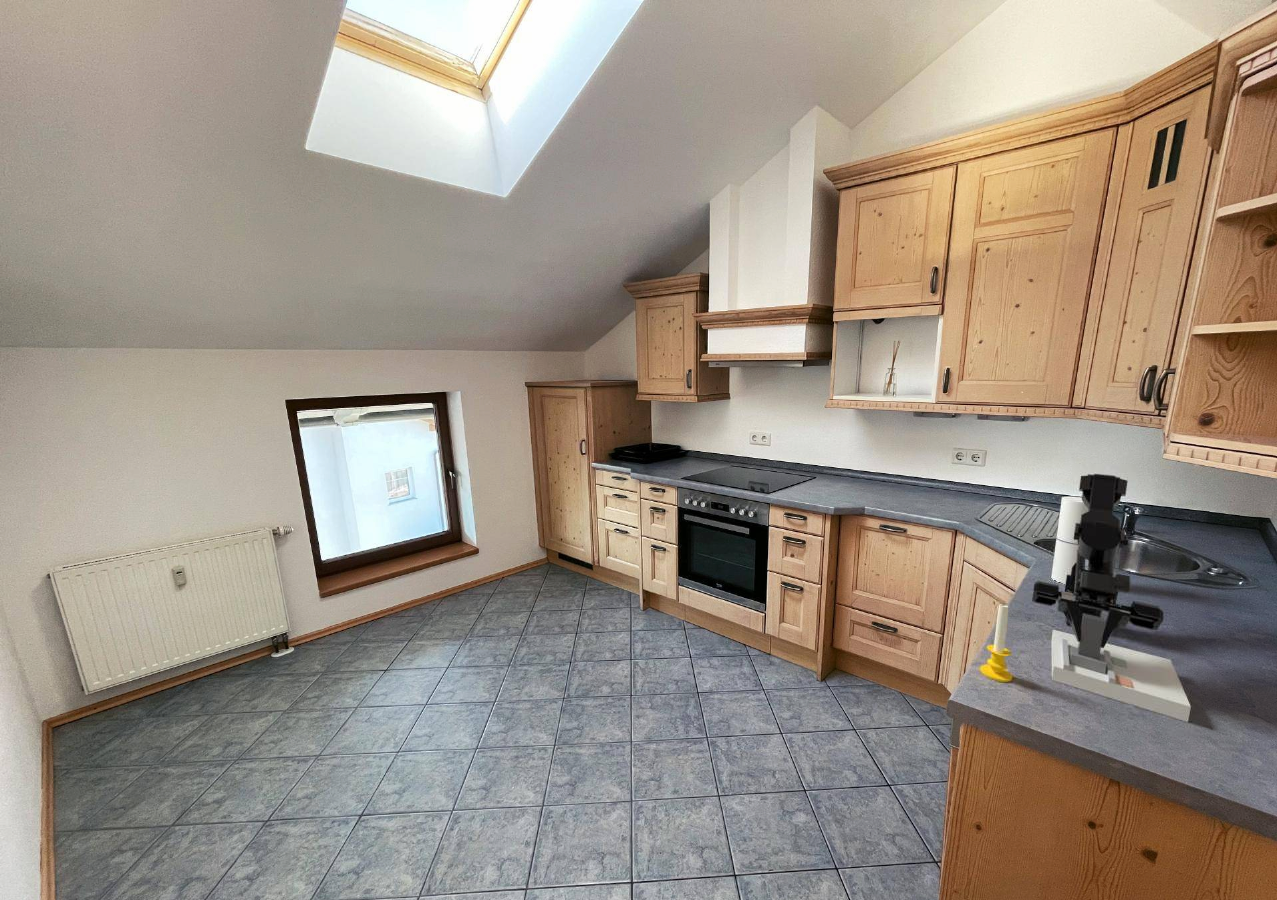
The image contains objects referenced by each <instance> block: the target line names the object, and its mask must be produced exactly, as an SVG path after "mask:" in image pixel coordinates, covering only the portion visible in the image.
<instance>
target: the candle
mask: <svg viewBox="0 0 1277 900" xmlns="http://www.w3.org/2000/svg"><path fill="white" fill-rule="evenodd" d="M1008 619H1009V606H1008V605H1005V604H999V605H998V611H997V617H996V626H995V635H994V641H993V644H989V645H988V644H987V646H986V648H987V650H988V651H989V652H991V654H990V658H988V659H987V662H986V663H985V664H982V665H981V666H980V669H979V670H980V672H981V673H982V675H984V676H985V677H987V678H989V679H991V680H992V681H997V682H1002V683H1010V682H1011V681H1012V680H1013V675H1012V673H1010V672H1009V671H1008V670H1007V669H1008V665H1007V663H1006V662H1005V661H1006V658H1005V657H1008V656H1011V655H1012V652H1011V651H1010V650H1009V649H1008V648H1006V647H1005V645H1006V637H1007V628H1008Z"/></svg>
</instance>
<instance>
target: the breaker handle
mask: <svg viewBox="0 0 1277 900" xmlns="http://www.w3.org/2000/svg"><path fill="white" fill-rule="evenodd" d="M1104 624H1105V618H1104V617H1097V616H1093V615H1088V614H1084V613H1083V617H1082V624H1081V641H1080V642H1079V644H1078V648H1076V647H1073V646H1071V648H1070V664H1073V665H1076V666H1080V667H1083V668H1087V669H1090V670H1094V671H1097V672H1101V673H1104V674H1105V671H1106V665H1107V664H1106V659H1105V655H1102V654H1100V650H1101V643H1102V637H1103V631H1104Z"/></svg>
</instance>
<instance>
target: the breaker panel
mask: <svg viewBox="0 0 1277 900" xmlns="http://www.w3.org/2000/svg"><path fill="white" fill-rule="evenodd" d="M1050 643H1051V644H1050V645H1051V680H1052V681H1055V682H1057V683H1061V684H1064V685H1066V686H1070V687H1072V688H1073V687H1074V688H1076V689H1079V690H1083V691H1086V692H1090V693H1093V694H1096V695H1099V696H1102V697H1105V698H1109V699H1112V700H1115V701H1118V702H1121V703H1125V704H1128V705H1131V706H1134V707H1138V708H1141V709H1145V710H1148V711H1151V712H1153V713H1157V714H1161V715H1164V716H1167V717H1170V718H1174V719H1175V720H1180V721H1183V722H1187V723H1188V722H1189V717H1190V712H1191V704H1190V702H1189V699H1188V697H1187V694H1186V693H1185V690H1184V688H1183V685H1182V683H1181V681H1180V679H1179V676H1178V674H1177V672H1176V669H1175V667H1174V665H1173V662H1172V661H1171V659H1168V658H1165V657H1160V656H1158V655H1153V654H1149V653H1147V652H1146V653H1145V652H1142V651H1137V650H1133V649H1130V648H1125V647H1122V646H1118V645H1113V644H1111V643H1106V645H1105V647H1104V648H1101V650H1100V654H1102V655H1105V659H1106V664H1107V665H1106V671H1105V674H1104V673H1101V672H1097V671H1094V670H1090V669H1087V668H1083V667H1080V666H1076V665H1073V664H1070V648H1071V646H1073V647H1076V648H1078V644H1079V642H1078V641H1077V639H1076V637H1075V634H1072V633H1067V632H1064V631H1061V630H1060V631H1059V630H1056V629H1052V635H1051V641H1050Z"/></svg>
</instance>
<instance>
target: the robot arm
mask: <svg viewBox="0 0 1277 900" xmlns="http://www.w3.org/2000/svg"><path fill="white" fill-rule="evenodd" d="M1128 481H1129V480H1128V479H1127V480H1126V479H1122V478H1121V477H1120V476H1116V475H1110V474H1104V473H1103V474H1100V473H1094V474H1087V475H1081V476H1080V481H1079V489H1078V492H1081V498H1082V501H1083V502H1084V504H1085V505H1086V507H1087V508H1088V512H1086V513H1084V514H1082V515H1081V521H1080V524H1079V523H1076V526H1075V532H1074V540H1078V544H1079V546H1078V551H1077V562H1076V563H1075V564H1074V566H1073V567H1072V570H1071V575H1068V574H1067V577H1066V584H1065V585H1064V591H1063V590H1062V591H1059V590H1060V586H1059V584H1053V583H1048V582H1044V581H1036V582H1034V584H1033V590H1032V599H1031V601H1032V602H1033V603H1036V604H1040V605H1044V606H1048V607H1052V606H1053V605H1056V603H1057V604H1058V605H1057V609H1056V611H1058V612H1060V613H1062V614H1063V615H1064V617H1065V624H1066V625H1067V626H1070V627H1071V630H1072V632H1073V635H1075V637H1076V639H1077V641H1078V642H1080V641H1081V624H1082V617H1083V613H1084V614H1088V615H1093V616H1097V617H1101V618H1103V617H1102V616H1103V612H1106V613H1107V616H1106V618H1105V619H1104V621H1105V624H1104V631H1103V637H1102V643H1101V648H1104V647H1105V645H1106V643H1107V642H1108V641H1109V639H1110V637H1111V635H1112V634H1113V633H1114V632H1115V631H1116V629H1118V628H1119V627H1122V628H1125V627H1127V625H1128V623H1130V624H1131V625H1132V626H1134V627H1138V628H1142V629H1147V630H1151V631H1158V629H1159V628H1160V626H1161V624H1162V623H1163V621H1164V610H1163V609H1162V608H1161V607H1160V606H1159V605H1153V604H1151V603H1150V604H1149V603H1144V602H1140V601H1135V600H1133V601H1132V603H1131V605H1130V606H1128V605H1123V604H1119V603H1117V600H1118V596H1119V593H1120V592H1121V593H1125V594H1126V593H1129V592H1130V586H1131V582H1130V581H1131V576H1130V575H1125V574H1120V573H1117V574H1115V572H1114V571H1115V559H1116V558H1117V554H1118V551H1119V548H1122V549H1123V548H1124V546H1128V545H1129V539H1128V535H1126V533H1125V530H1124V529H1121V519H1120V518H1118V517H1117V516H1116V515H1114V510H1115V509H1116V508H1117V507H1118V506H1119V505H1120V502H1121V499H1122V497H1125V496H1126V495H1127V490H1128V489H1127V488H1128ZM1114 574H1115V575H1114ZM1107 644H1108V643H1107Z"/></svg>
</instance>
